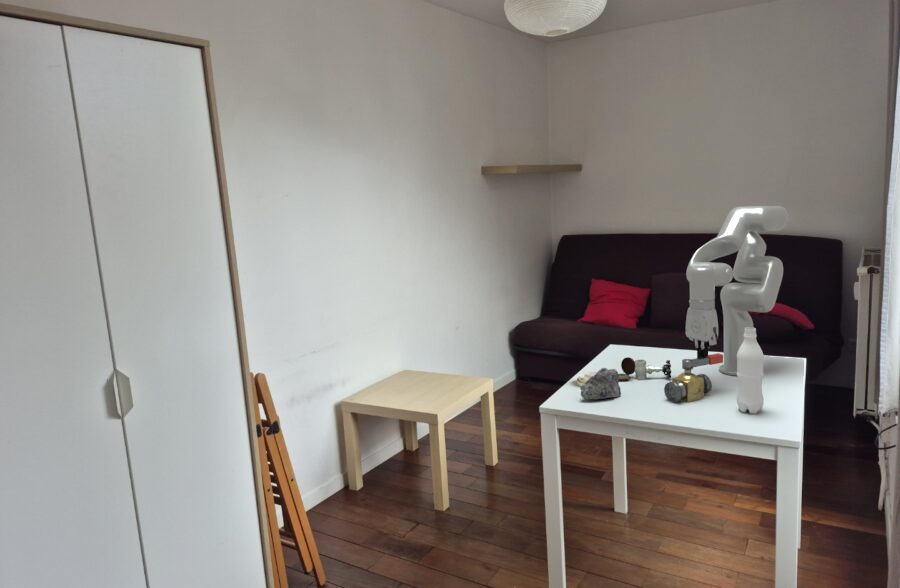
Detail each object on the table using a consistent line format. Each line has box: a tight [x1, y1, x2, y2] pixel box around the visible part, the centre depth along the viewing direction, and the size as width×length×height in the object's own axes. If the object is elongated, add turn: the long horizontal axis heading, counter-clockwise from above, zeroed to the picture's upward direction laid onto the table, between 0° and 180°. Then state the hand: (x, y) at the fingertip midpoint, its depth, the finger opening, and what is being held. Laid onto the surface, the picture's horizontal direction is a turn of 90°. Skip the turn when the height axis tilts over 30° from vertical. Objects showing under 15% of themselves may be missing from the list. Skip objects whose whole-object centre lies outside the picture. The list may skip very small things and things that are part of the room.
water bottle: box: [736, 326, 765, 415], centre depth 193 cm, size 7×7×25 cm
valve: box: [634, 359, 672, 381], centre depth 231 cm, size 7×7×12 cm
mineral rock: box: [580, 367, 621, 400], centre depth 215 cm, size 13×11×10 cm
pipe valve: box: [663, 369, 713, 404], centre depth 209 cm, size 14×8×9 cm, turn 117°
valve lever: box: [681, 353, 724, 371], centre depth 210 cm, size 15×3×3 cm, turn 110°
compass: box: [618, 356, 636, 382], centre depth 233 cm, size 8×8×7 cm
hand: (702, 359), depth 213 cm, fingers closed
